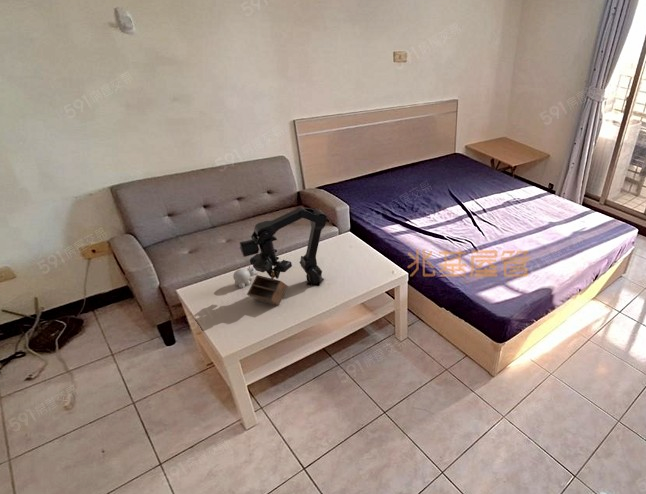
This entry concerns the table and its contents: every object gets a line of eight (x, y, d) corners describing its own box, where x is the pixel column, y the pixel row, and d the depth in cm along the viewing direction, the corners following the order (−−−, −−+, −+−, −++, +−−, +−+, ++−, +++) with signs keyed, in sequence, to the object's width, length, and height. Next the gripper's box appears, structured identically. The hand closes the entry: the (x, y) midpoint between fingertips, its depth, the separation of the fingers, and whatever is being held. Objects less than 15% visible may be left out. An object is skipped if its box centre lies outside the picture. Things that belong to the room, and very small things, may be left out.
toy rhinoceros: (263, 279, 209) (260, 265, 204) (240, 290, 200) (236, 276, 196) (255, 274, 212) (252, 260, 207) (232, 284, 204) (228, 270, 199)
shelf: (268, 271, 200) (261, 266, 194) (292, 277, 197) (284, 272, 191) (255, 299, 195) (246, 294, 188) (278, 305, 192) (271, 300, 186)
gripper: (237, 254, 182) (245, 282, 190) (273, 263, 178) (280, 291, 186) (254, 242, 191) (262, 269, 199) (289, 250, 187) (295, 278, 195)
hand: (274, 277), depth 195 cm, fingers closed on shelf, 3 cm apart
